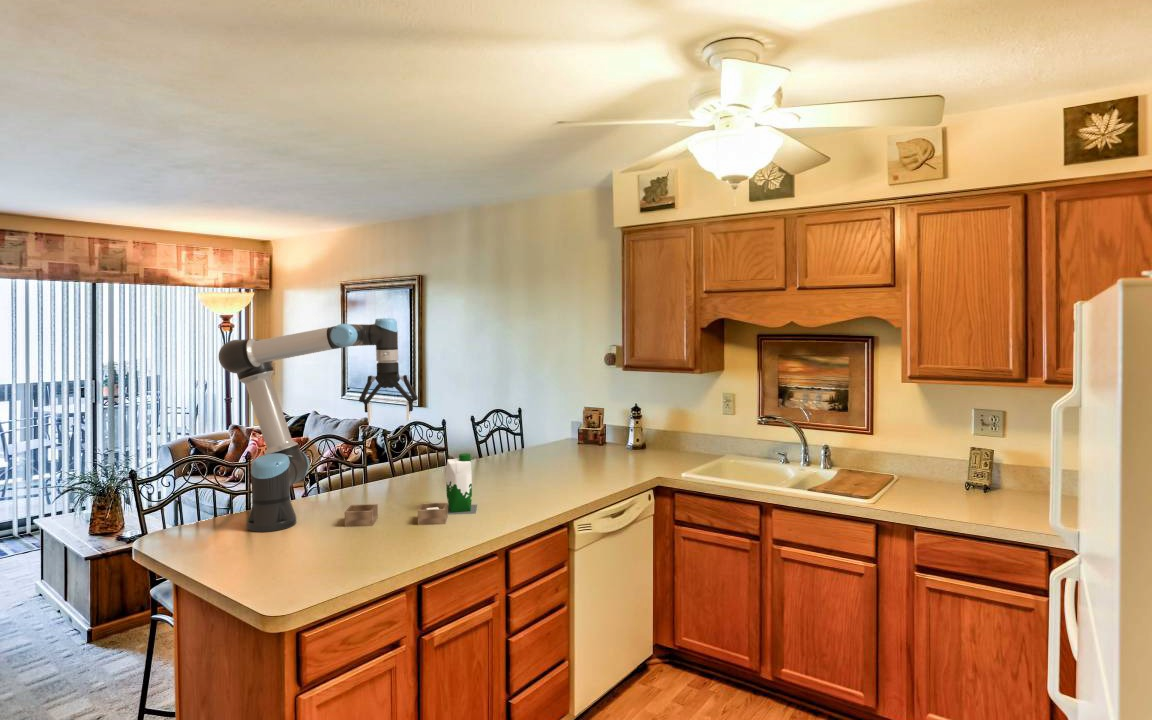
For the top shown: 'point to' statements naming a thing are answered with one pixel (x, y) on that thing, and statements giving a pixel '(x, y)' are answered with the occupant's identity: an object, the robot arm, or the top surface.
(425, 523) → the crate
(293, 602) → the top surface
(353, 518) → the crate
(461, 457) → the soya milk
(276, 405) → the robot arm
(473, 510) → the coaster
